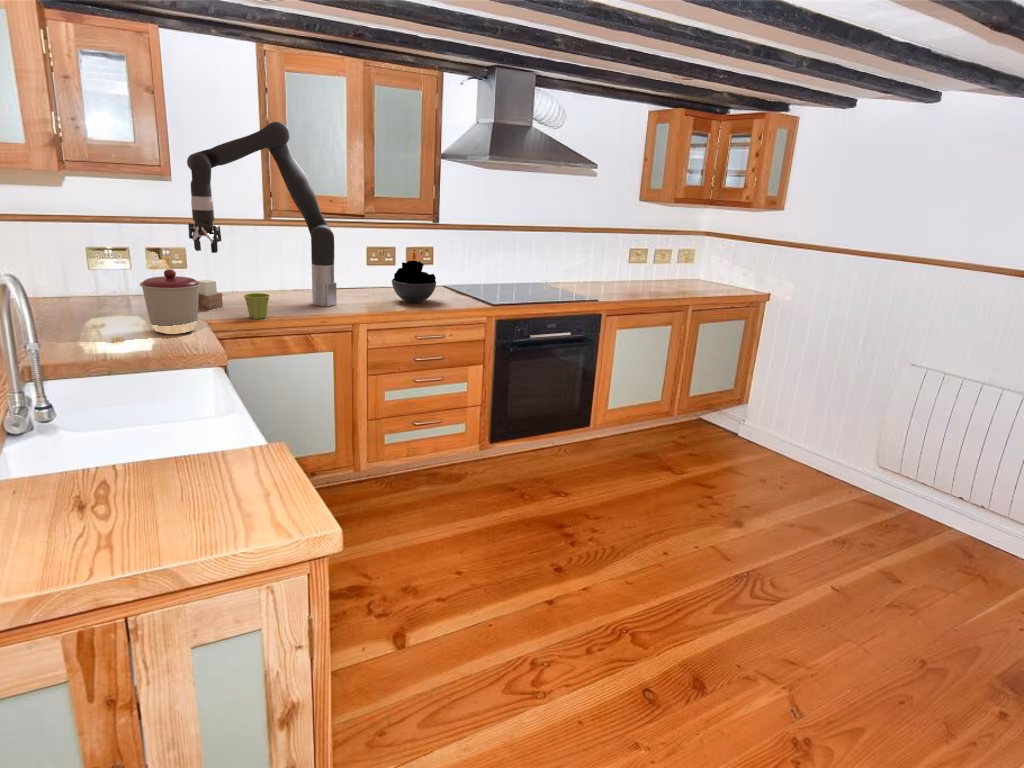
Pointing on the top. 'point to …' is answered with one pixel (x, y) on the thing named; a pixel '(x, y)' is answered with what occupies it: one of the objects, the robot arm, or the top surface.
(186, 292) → the canister
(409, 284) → the bowl of black rocks
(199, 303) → the walnut block
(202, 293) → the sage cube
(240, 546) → the top surface
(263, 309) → the plant pot
